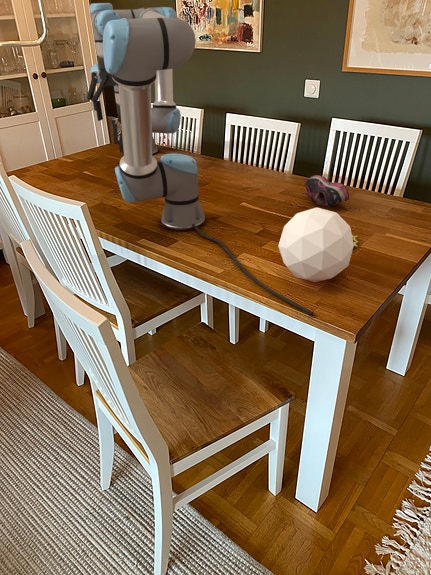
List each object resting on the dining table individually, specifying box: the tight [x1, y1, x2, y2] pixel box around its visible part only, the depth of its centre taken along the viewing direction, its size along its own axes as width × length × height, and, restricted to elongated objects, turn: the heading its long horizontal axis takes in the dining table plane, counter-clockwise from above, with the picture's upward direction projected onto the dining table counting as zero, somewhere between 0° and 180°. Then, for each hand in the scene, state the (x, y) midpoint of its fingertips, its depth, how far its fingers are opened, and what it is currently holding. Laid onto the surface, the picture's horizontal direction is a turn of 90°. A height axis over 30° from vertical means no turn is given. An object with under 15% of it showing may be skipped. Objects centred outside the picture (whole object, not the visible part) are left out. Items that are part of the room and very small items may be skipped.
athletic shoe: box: [302, 174, 350, 208], centre depth 165 cm, size 11×22×12 cm
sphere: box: [277, 207, 355, 283], centre depth 118 cm, size 19×20×20 cm
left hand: (132, 159), depth 194 cm, fingers closed on can, 6 cm apart
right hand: (117, 120), depth 164 cm, fingers open, 13 cm apart
